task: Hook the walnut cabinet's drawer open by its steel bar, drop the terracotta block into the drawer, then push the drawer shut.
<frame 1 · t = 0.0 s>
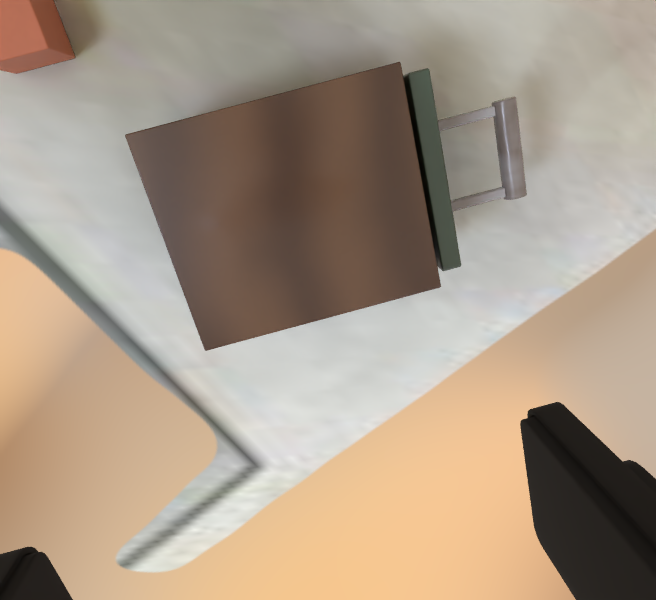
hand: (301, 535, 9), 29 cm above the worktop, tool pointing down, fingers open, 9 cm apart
cabinet: (291, 196, 36), on the worktop
drawer: (369, 185, 32), point 5 cm above the worktop, slide at 0.5 cm
block: (32, 32, 31), on the worktop
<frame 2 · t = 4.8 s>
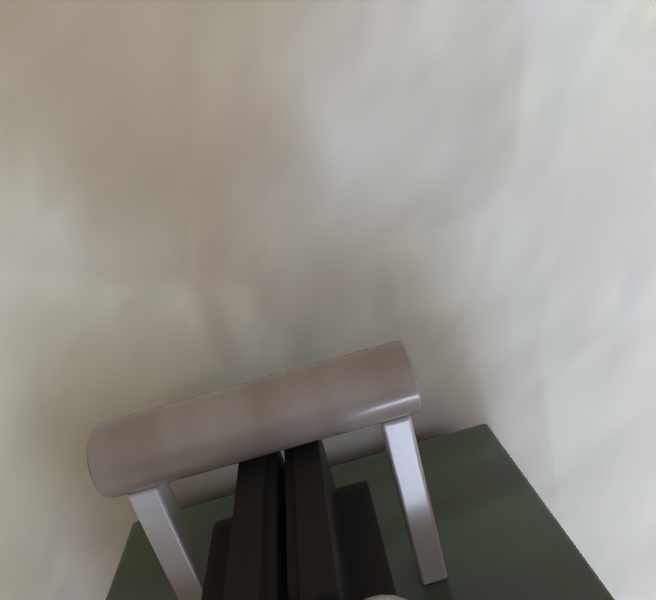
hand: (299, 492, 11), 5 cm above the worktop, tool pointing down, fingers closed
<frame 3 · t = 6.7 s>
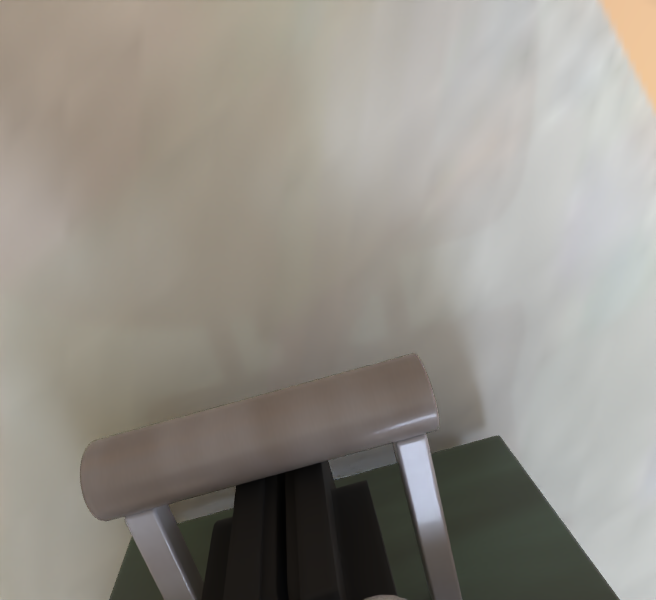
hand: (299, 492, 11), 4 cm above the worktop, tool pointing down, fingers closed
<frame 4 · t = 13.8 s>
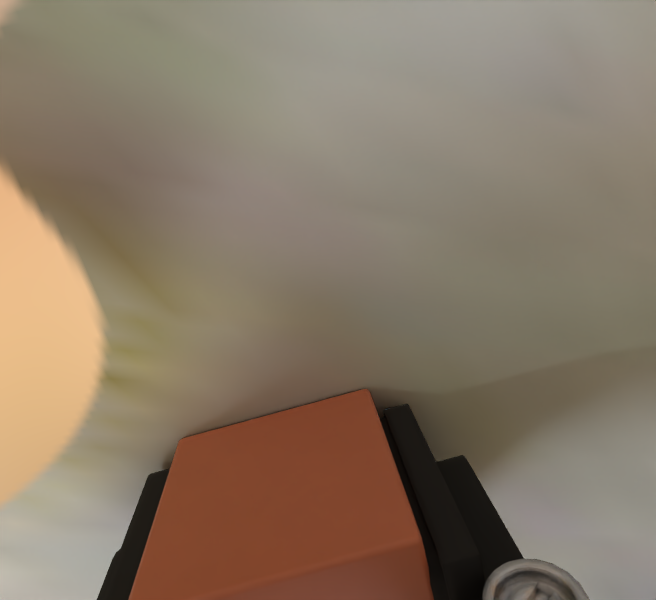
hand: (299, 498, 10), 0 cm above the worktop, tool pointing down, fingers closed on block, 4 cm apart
block: (299, 488, 11), on the worktop, touching gripper
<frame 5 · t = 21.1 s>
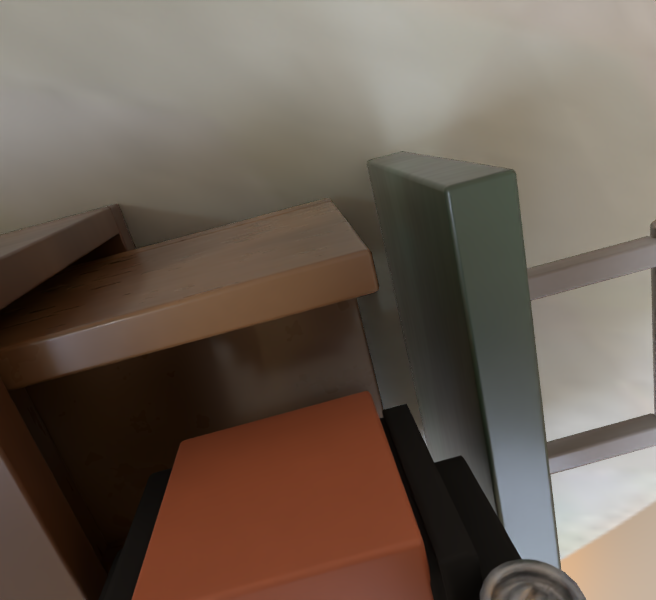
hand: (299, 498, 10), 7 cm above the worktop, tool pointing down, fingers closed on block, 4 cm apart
drawer: (337, 411, 13), point 5 cm above the worktop, slide at 7.6 cm
block: (300, 490, 11), point 7 cm above the worktop, touching gripper
when the fingers open (7 cm above the worktop, at t = 21.2 s): block drops 5 cm, resting on drawer.
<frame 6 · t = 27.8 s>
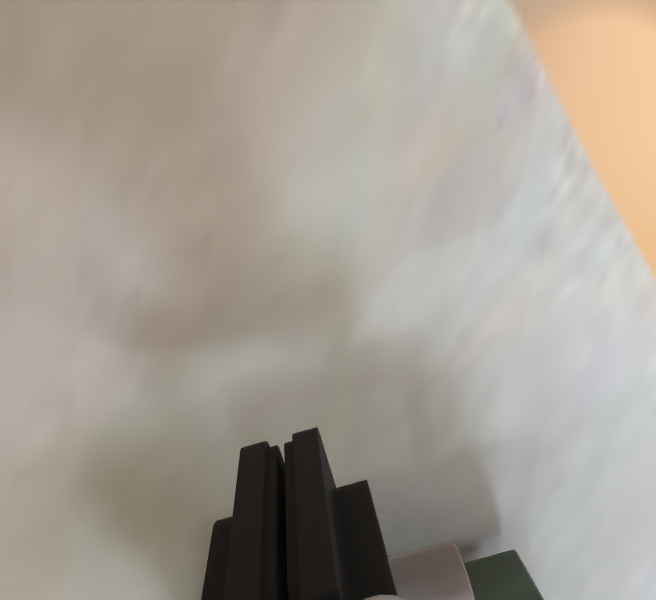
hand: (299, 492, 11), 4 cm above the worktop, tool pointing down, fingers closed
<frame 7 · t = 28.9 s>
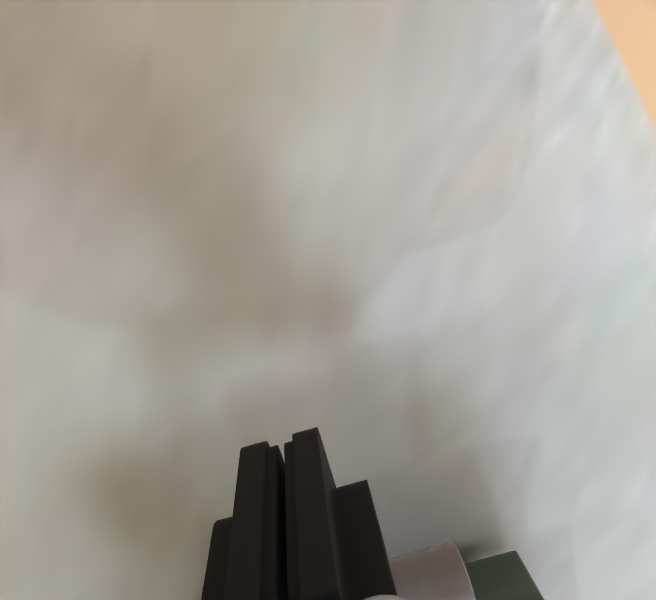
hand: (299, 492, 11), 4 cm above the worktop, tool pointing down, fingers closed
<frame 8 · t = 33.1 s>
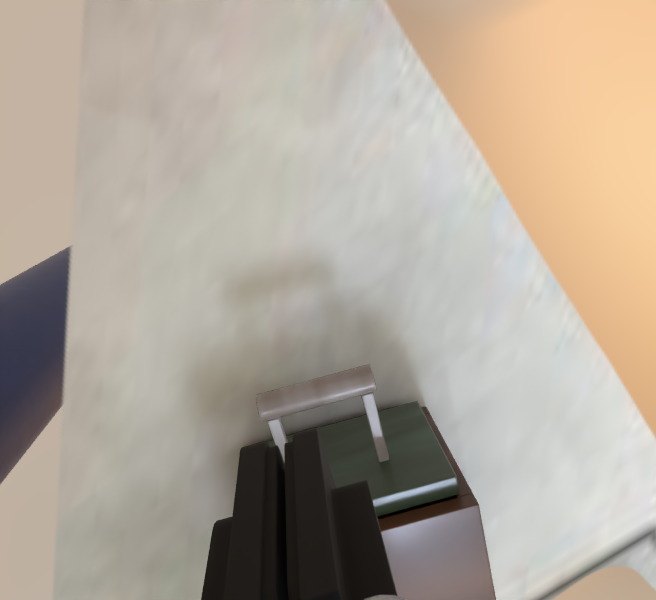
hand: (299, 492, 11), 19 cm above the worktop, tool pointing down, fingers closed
cabinet: (358, 516, 35), on the worktop
drawer: (352, 513, 29), point 5 cm above the worktop, slide at 0.0 cm, touching block, cabinet
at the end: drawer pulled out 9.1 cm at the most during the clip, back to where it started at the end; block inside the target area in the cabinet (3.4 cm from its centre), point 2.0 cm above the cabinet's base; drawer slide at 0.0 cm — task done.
